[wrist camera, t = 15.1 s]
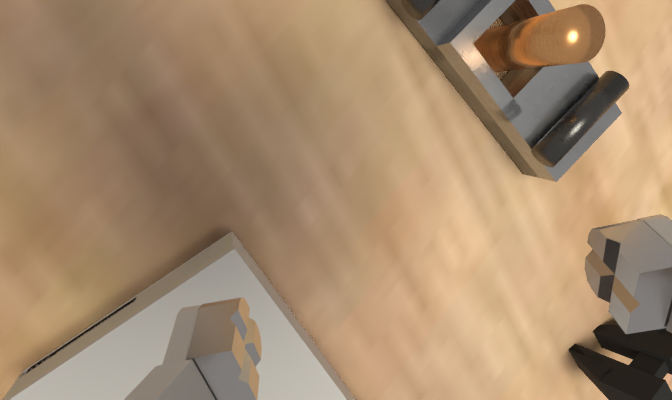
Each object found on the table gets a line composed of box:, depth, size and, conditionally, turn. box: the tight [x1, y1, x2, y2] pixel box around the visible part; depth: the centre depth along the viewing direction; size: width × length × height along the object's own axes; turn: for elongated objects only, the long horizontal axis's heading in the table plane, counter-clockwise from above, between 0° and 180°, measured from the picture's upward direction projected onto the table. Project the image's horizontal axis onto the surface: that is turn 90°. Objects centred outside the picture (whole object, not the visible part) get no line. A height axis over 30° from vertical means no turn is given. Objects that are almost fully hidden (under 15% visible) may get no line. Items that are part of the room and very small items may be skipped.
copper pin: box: [473, 4, 605, 72], centre depth 31 cm, size 3×3×10 cm
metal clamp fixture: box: [386, 0, 629, 182], centre depth 33 cm, size 20×8×6 cm, turn 44°
